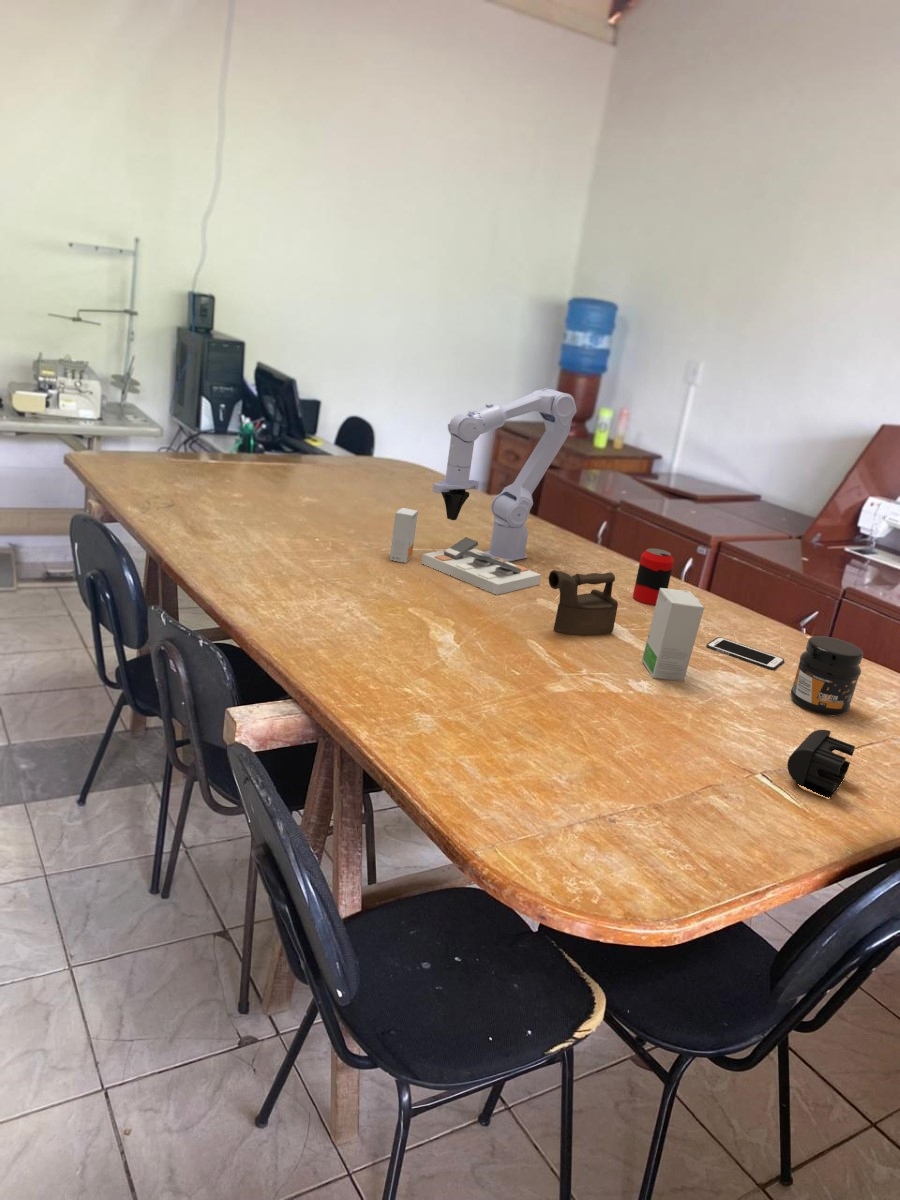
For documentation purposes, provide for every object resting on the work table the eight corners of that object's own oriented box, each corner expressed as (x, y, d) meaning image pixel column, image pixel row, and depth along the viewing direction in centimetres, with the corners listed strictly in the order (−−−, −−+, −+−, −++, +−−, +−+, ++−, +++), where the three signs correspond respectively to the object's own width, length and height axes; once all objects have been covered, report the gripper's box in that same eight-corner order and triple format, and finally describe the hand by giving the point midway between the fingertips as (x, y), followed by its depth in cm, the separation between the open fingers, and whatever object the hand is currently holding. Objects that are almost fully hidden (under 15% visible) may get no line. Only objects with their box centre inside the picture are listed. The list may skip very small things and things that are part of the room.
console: (465, 555, 227) (467, 542, 226) (539, 584, 213) (541, 571, 212) (421, 563, 216) (423, 550, 215) (496, 595, 201) (498, 580, 200)
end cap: (800, 760, 144) (811, 723, 142) (845, 778, 140) (857, 740, 138) (781, 782, 136) (792, 743, 134) (828, 801, 132) (841, 762, 130)
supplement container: (788, 707, 163) (805, 647, 159) (789, 687, 173) (805, 629, 169) (849, 723, 160) (868, 662, 156) (847, 701, 170) (865, 643, 166)
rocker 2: (485, 558, 217) (487, 553, 217) (498, 562, 215) (499, 558, 215) (465, 554, 211) (466, 549, 211) (478, 559, 209) (479, 554, 208)
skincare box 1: (406, 563, 214) (412, 515, 210) (389, 560, 215) (394, 512, 211) (412, 557, 220) (418, 510, 216) (396, 554, 221) (401, 507, 217)
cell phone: (773, 672, 180) (774, 668, 179) (704, 648, 188) (705, 644, 187) (784, 663, 186) (785, 659, 186) (717, 640, 194) (718, 636, 193)
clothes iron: (532, 624, 186) (542, 564, 182) (591, 619, 195) (603, 561, 190) (554, 639, 180) (565, 576, 176) (615, 633, 188) (627, 573, 184)
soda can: (645, 606, 208) (656, 557, 204) (626, 595, 214) (636, 547, 210) (670, 605, 211) (681, 556, 207) (650, 593, 218) (660, 546, 214)
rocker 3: (506, 568, 213) (508, 563, 213) (519, 573, 211) (521, 568, 211) (488, 561, 207) (490, 556, 207) (501, 566, 204) (503, 561, 204)
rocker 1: (466, 540, 221) (465, 536, 220) (478, 545, 218) (477, 541, 218) (444, 555, 216) (443, 551, 216) (456, 559, 214) (455, 555, 213)
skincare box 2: (641, 661, 175) (657, 586, 170) (673, 664, 176) (690, 590, 171) (653, 679, 167) (671, 601, 162) (687, 682, 168) (705, 605, 163)
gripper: (466, 459, 224) (459, 512, 228) (426, 462, 213) (419, 517, 218) (488, 466, 219) (480, 519, 224) (447, 469, 209) (440, 525, 213)
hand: (451, 519), depth 220 cm, fingers closed
